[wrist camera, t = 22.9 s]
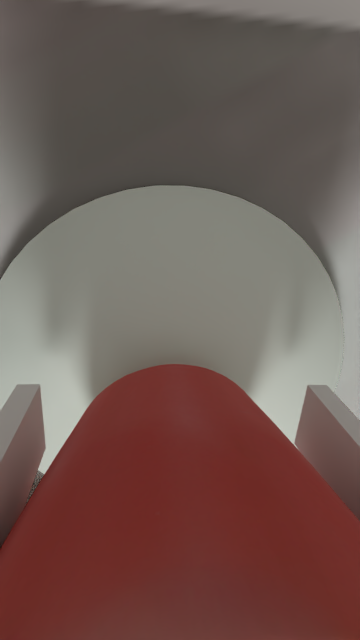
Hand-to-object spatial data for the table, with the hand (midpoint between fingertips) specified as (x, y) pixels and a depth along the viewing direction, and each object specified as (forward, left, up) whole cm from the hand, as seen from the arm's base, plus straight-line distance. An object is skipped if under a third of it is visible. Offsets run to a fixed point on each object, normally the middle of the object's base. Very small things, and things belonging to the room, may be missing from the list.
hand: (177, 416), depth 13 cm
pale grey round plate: (0, 0, -4) cm, 4 cm away
